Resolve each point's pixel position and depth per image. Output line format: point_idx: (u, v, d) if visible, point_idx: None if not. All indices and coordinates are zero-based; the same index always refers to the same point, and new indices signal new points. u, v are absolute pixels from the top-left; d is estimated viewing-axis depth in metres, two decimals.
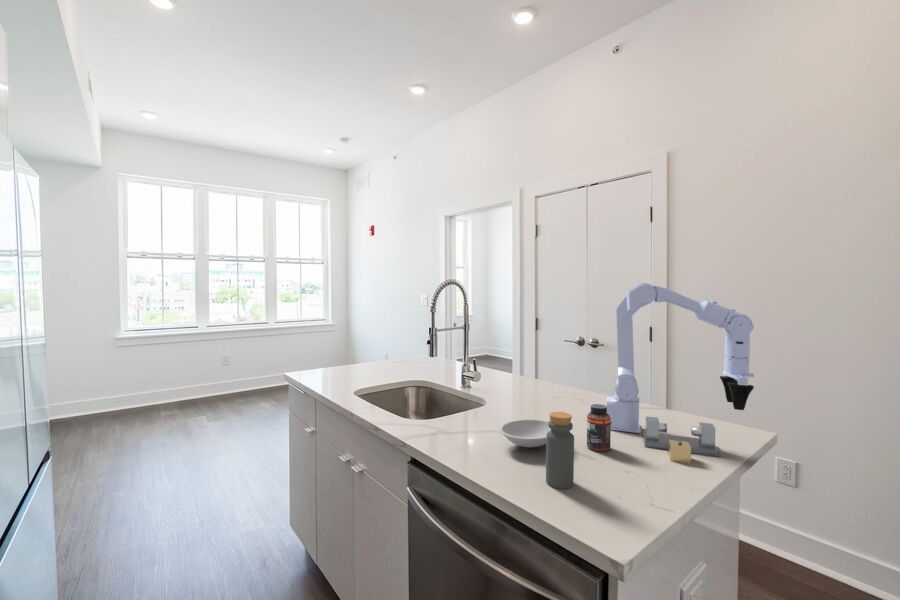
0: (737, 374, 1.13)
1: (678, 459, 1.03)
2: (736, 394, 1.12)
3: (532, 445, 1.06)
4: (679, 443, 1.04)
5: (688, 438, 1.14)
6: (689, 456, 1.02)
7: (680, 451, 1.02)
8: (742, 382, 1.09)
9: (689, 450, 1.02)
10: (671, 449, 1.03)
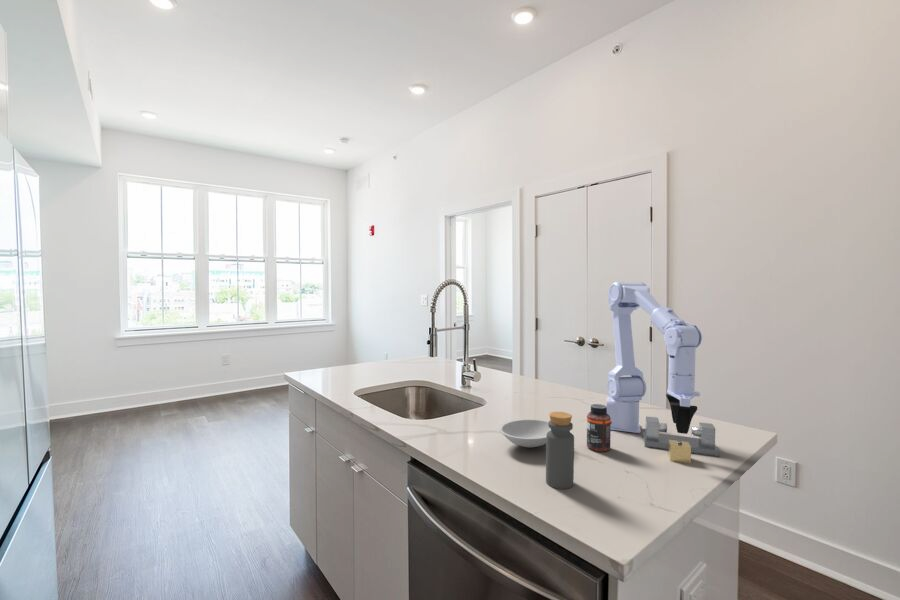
0: (681, 393, 1.01)
1: (678, 459, 1.03)
2: (679, 416, 1.00)
3: (532, 445, 1.06)
4: (679, 443, 1.04)
5: (688, 438, 1.14)
6: (689, 456, 1.02)
7: (680, 451, 1.02)
8: (684, 403, 0.97)
9: (689, 450, 1.02)
10: (671, 449, 1.03)
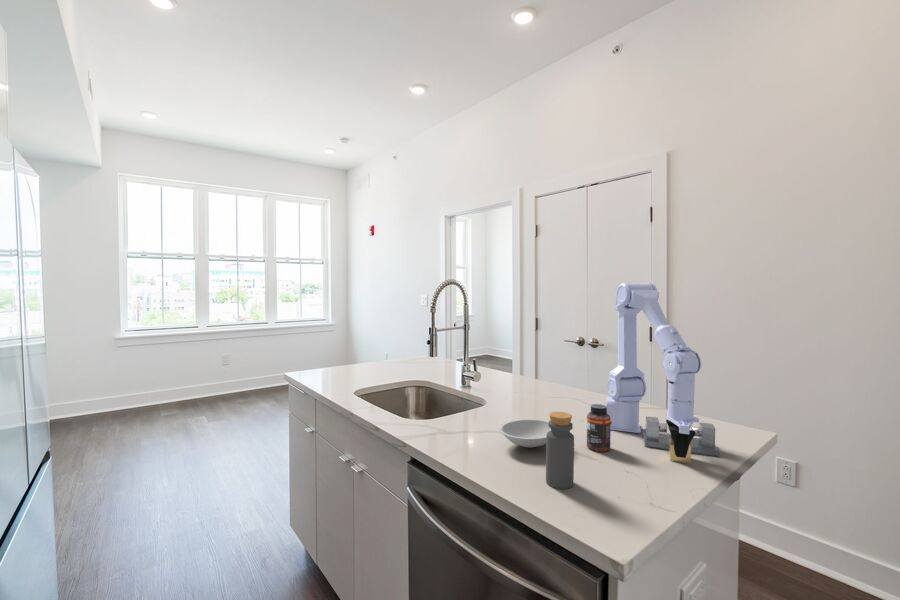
0: (680, 419, 1.01)
1: (678, 458, 1.03)
2: (677, 440, 1.02)
3: (532, 445, 1.06)
4: None
5: None
6: (689, 455, 1.02)
7: None
8: (683, 430, 0.97)
9: (689, 449, 1.02)
10: (671, 448, 1.03)
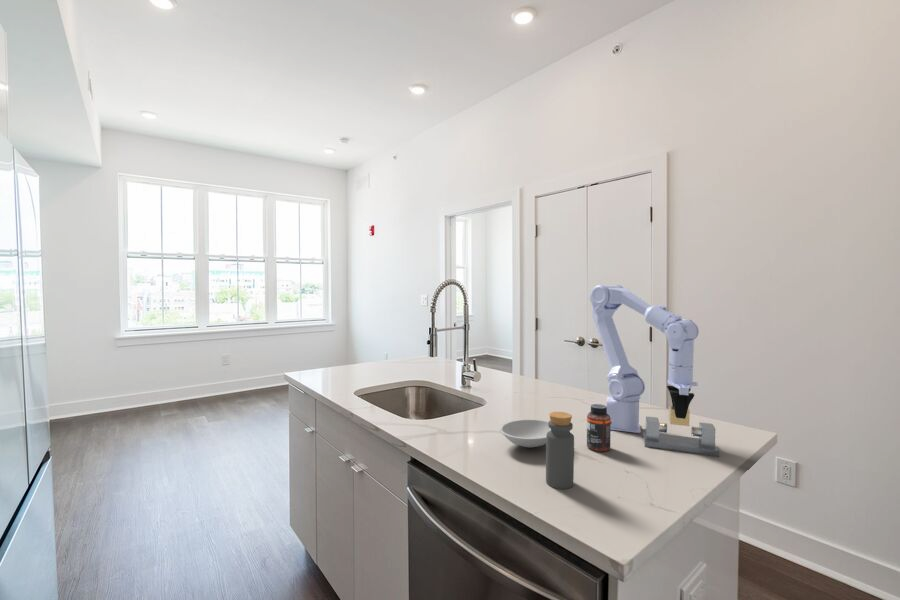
0: (680, 383, 1.10)
1: (678, 422, 1.11)
2: (677, 402, 1.10)
3: (532, 445, 1.06)
4: None
5: (688, 438, 1.14)
6: (688, 419, 1.10)
7: None
8: (683, 392, 1.05)
9: (688, 413, 1.10)
10: (671, 413, 1.11)
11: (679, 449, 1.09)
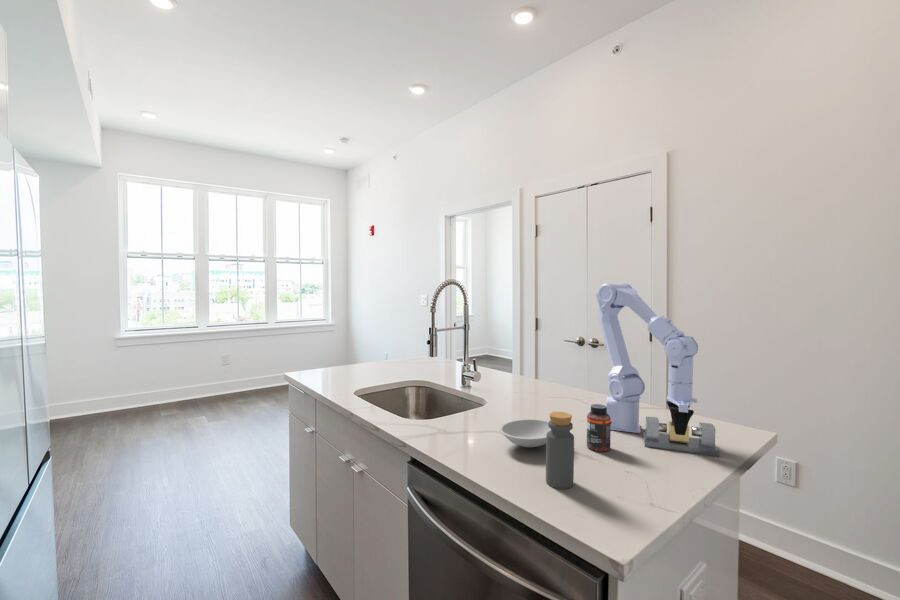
0: (679, 400, 1.10)
1: (677, 438, 1.11)
2: (677, 419, 1.10)
3: (532, 445, 1.06)
4: None
5: None
6: (687, 435, 1.10)
7: None
8: (682, 409, 1.06)
9: (687, 430, 1.10)
10: (671, 429, 1.11)
11: (679, 449, 1.09)
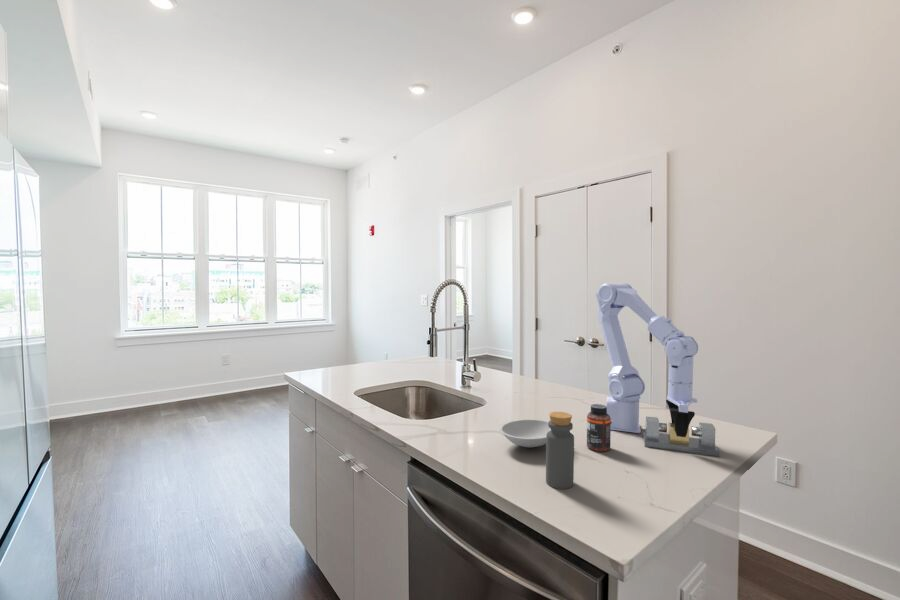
0: (679, 400, 1.10)
1: (677, 440, 1.11)
2: (678, 421, 1.09)
3: (532, 445, 1.06)
4: None
5: None
6: (687, 437, 1.10)
7: None
8: (682, 409, 1.06)
9: (687, 431, 1.10)
10: (671, 430, 1.11)
11: (679, 449, 1.09)
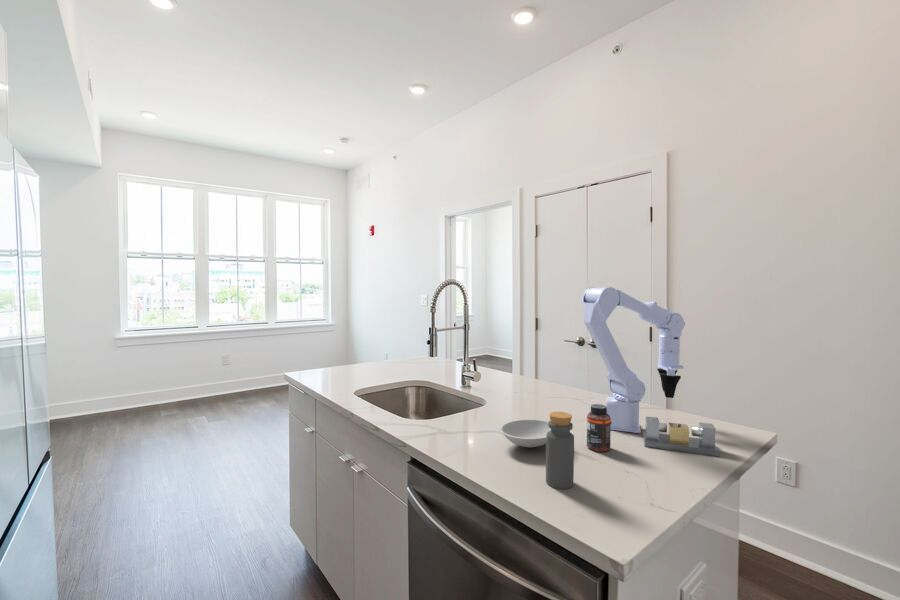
0: (668, 366, 1.27)
1: (677, 440, 1.11)
2: (666, 384, 1.26)
3: (532, 445, 1.06)
4: (678, 425, 1.12)
5: None
6: (687, 437, 1.10)
7: (679, 432, 1.11)
8: (670, 373, 1.23)
9: (687, 431, 1.10)
10: (671, 430, 1.11)
11: (679, 449, 1.09)
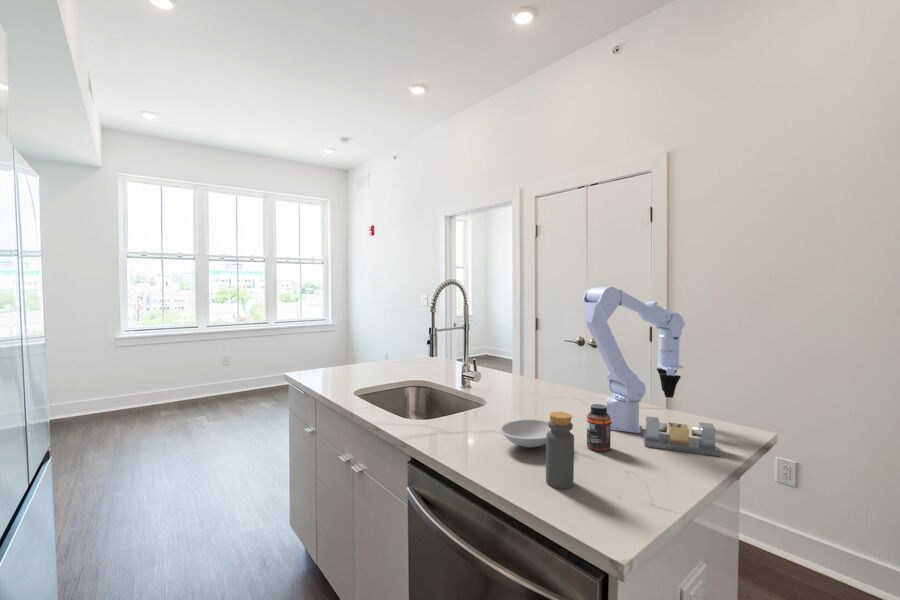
0: (668, 366, 1.27)
1: (677, 440, 1.11)
2: (666, 383, 1.26)
3: (532, 445, 1.06)
4: (678, 425, 1.12)
5: None
6: (687, 437, 1.10)
7: (679, 432, 1.11)
8: (670, 373, 1.23)
9: (687, 431, 1.10)
10: (671, 430, 1.11)
11: (679, 449, 1.09)
